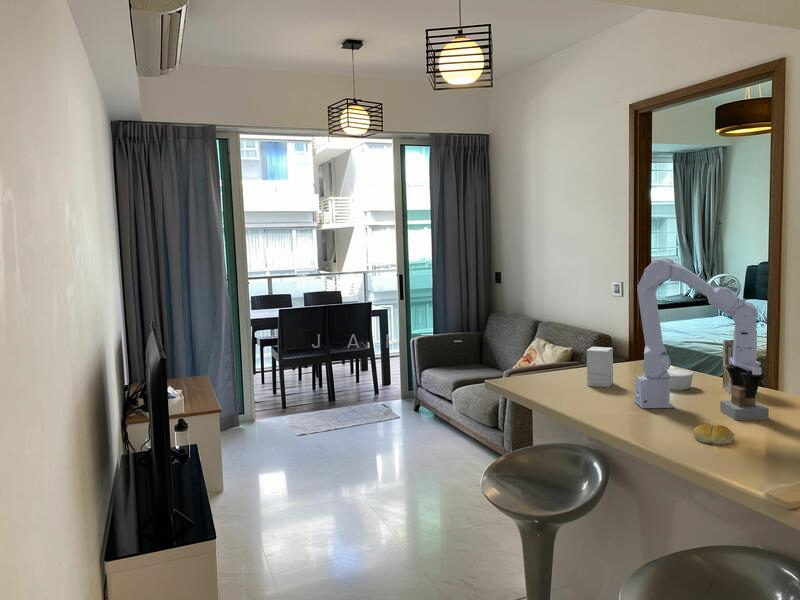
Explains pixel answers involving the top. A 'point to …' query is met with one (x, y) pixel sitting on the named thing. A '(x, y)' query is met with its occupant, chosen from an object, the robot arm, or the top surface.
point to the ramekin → (680, 379)
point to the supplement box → (599, 366)
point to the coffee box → (727, 364)
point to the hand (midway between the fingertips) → (744, 394)
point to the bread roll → (713, 434)
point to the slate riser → (744, 411)
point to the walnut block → (741, 397)
